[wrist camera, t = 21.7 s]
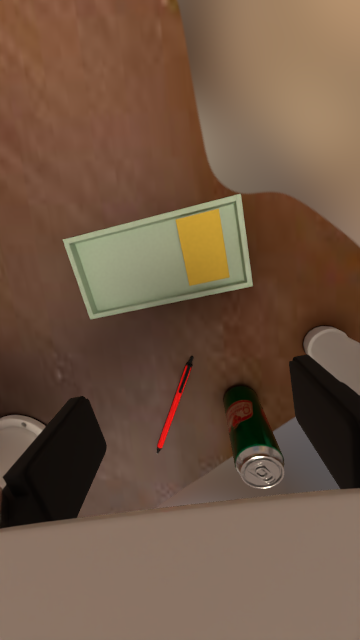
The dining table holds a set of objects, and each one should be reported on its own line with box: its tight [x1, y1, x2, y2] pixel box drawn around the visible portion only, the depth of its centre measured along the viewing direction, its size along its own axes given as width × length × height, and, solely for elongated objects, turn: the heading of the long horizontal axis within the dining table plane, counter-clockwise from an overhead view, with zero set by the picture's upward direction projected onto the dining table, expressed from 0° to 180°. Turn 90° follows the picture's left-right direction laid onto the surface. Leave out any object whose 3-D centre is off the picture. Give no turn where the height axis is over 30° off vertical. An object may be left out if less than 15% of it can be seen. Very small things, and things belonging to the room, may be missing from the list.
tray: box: [63, 194, 253, 319], centre depth 28 cm, size 21×10×2 cm, turn 103°
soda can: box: [223, 386, 284, 489], centre depth 28 cm, size 5×5×12 cm
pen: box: [157, 356, 193, 454], centre depth 35 cm, size 1×19×1 cm, turn 163°
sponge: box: [176, 209, 230, 286], centre depth 25 cm, size 4×7×4 cm, turn 13°
